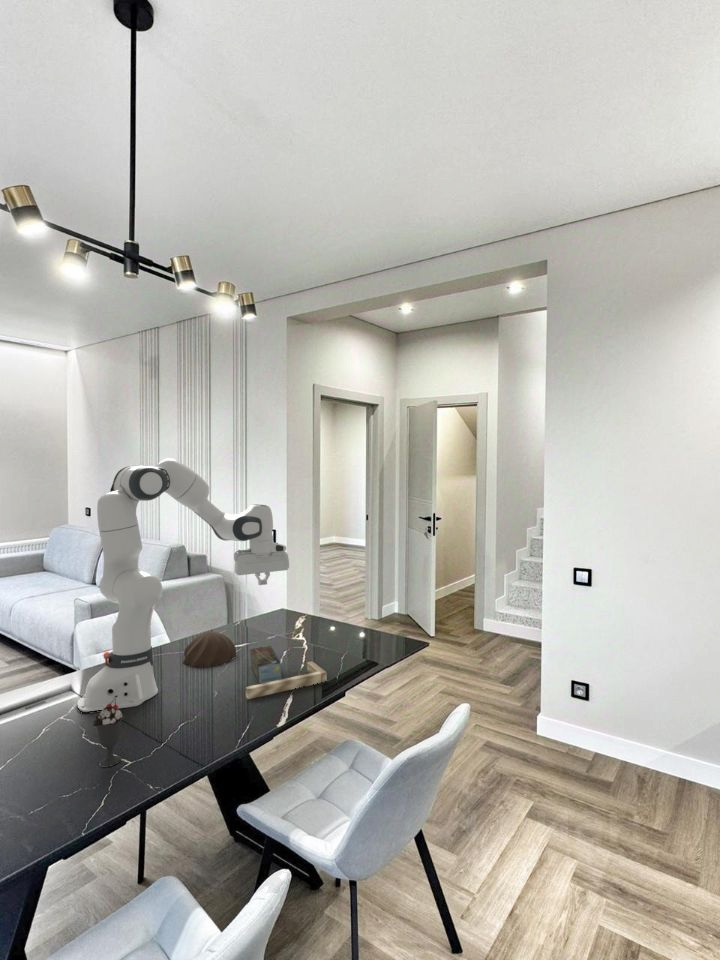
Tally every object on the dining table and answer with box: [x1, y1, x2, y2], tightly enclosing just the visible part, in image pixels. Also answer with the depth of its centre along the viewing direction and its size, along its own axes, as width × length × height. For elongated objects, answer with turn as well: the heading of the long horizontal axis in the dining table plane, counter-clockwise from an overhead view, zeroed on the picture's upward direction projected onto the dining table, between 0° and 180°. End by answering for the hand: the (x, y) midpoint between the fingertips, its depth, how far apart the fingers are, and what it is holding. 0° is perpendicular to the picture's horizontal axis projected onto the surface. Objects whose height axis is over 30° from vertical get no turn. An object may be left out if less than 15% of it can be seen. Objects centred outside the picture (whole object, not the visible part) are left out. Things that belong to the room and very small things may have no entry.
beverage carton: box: [250, 645, 283, 684], centre depth 179 cm, size 8×19×7 cm, turn 19°
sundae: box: [92, 695, 126, 766], centre depth 123 cm, size 7×7×15 cm
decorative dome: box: [183, 631, 237, 668], centre depth 196 cm, size 19×20×10 cm
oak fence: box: [245, 661, 328, 700], centre depth 168 cm, size 26×12×3 cm, turn 118°
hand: (262, 584), depth 195 cm, fingers closed
